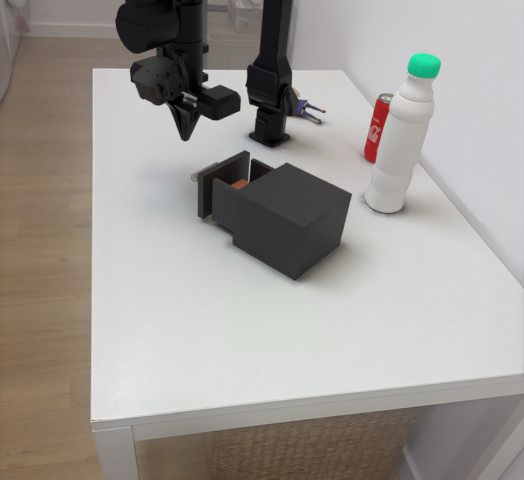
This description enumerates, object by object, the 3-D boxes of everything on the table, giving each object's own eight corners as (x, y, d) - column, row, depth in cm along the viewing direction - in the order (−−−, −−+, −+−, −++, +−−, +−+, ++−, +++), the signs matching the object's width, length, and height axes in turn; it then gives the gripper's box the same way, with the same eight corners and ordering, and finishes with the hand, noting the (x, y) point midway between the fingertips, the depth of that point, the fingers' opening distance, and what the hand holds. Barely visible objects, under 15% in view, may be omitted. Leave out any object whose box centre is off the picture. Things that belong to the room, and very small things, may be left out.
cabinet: (232, 244, 84) (235, 190, 77) (279, 213, 92) (286, 162, 84) (294, 280, 80) (304, 227, 73) (339, 245, 87) (352, 193, 80)
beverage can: (387, 166, 107) (404, 106, 98) (361, 161, 107) (376, 101, 98) (388, 154, 110) (404, 95, 101) (363, 149, 110) (378, 90, 102)
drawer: (179, 206, 89) (178, 163, 83) (224, 182, 95) (226, 140, 89) (250, 247, 83) (254, 203, 77) (293, 218, 89) (300, 176, 84)
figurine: (330, 104, 116) (274, 79, 120) (323, 100, 112) (266, 75, 117) (318, 131, 118) (264, 105, 123) (312, 127, 115) (256, 101, 119)
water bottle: (404, 199, 99) (452, 54, 80) (399, 218, 94) (448, 69, 76) (368, 189, 100) (406, 44, 81) (360, 208, 95) (399, 59, 77)
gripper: (95, 28, 75) (109, 135, 86) (191, 70, 68) (192, 179, 80) (153, 14, 81) (159, 115, 93) (246, 51, 74) (239, 155, 86)
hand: (185, 140), depth 88 cm, fingers closed
